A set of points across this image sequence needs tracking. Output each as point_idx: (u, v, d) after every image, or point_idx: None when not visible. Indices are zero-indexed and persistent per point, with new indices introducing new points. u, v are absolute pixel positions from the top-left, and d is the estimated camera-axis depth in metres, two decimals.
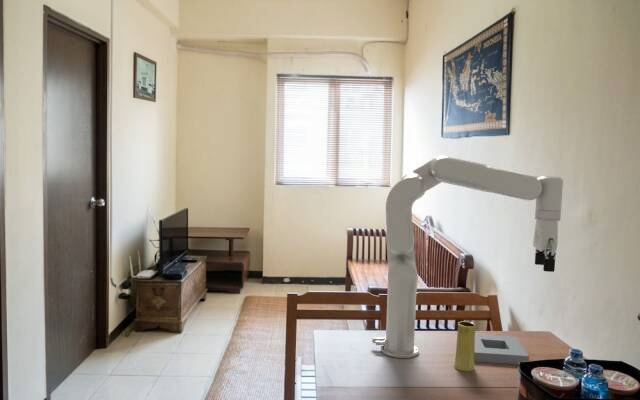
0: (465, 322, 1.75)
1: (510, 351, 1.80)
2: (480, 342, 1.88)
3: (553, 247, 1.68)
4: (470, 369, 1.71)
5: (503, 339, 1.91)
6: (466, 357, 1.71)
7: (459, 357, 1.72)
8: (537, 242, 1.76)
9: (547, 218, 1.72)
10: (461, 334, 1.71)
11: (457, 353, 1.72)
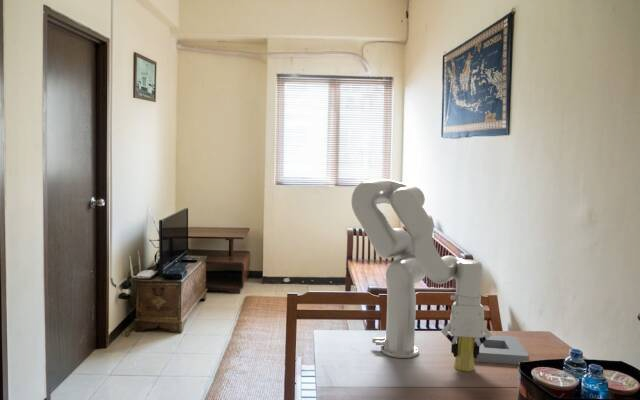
0: None
1: (510, 351, 1.80)
2: None
3: None
4: (470, 369, 1.71)
5: (503, 339, 1.91)
6: (466, 357, 1.71)
7: (459, 357, 1.72)
8: (470, 330, 1.69)
9: None
10: None
11: (457, 353, 1.72)
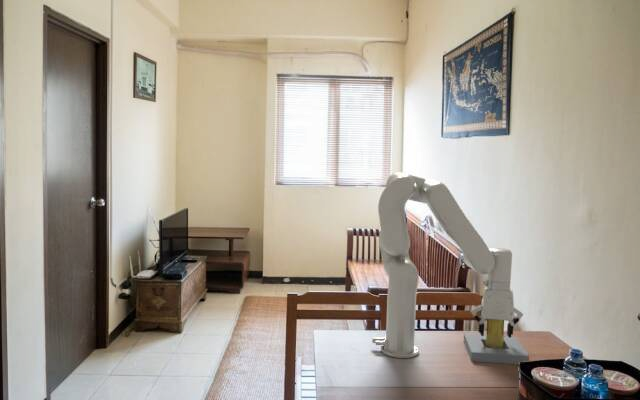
0: None
1: (510, 351, 1.80)
2: (480, 342, 1.88)
3: (522, 313, 1.84)
4: None
5: (503, 339, 1.91)
6: (496, 343, 1.84)
7: (489, 343, 1.85)
8: (500, 313, 1.83)
9: (509, 288, 1.83)
10: (491, 321, 1.84)
11: (487, 339, 1.86)
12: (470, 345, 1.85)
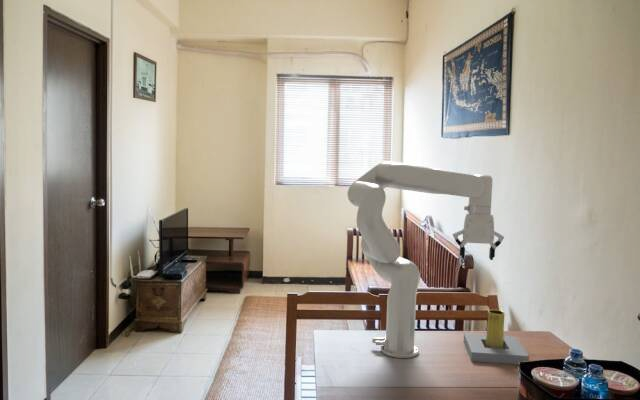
0: (494, 310, 1.88)
1: (510, 351, 1.80)
2: (480, 342, 1.88)
3: (503, 236, 1.91)
4: None
5: (503, 339, 1.91)
6: (496, 343, 1.84)
7: (489, 343, 1.85)
8: (481, 236, 1.90)
9: (490, 212, 1.90)
10: (491, 321, 1.84)
11: (487, 339, 1.86)
12: (470, 345, 1.85)
